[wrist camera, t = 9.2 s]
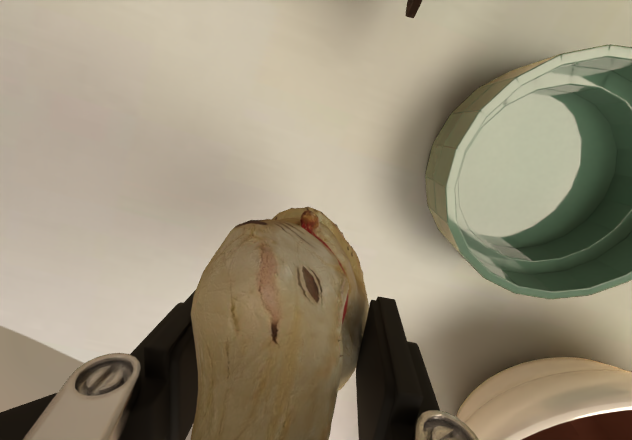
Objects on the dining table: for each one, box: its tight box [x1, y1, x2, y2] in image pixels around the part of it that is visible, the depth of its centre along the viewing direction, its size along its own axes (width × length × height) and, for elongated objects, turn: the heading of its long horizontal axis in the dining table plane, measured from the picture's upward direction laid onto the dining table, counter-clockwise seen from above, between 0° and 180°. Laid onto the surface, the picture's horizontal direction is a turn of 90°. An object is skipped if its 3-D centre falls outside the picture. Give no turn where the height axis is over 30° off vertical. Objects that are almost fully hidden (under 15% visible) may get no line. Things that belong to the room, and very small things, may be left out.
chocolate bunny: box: [191, 207, 369, 440], centre depth 9 cm, size 6×8×10 cm
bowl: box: [425, 45, 632, 299], centre depth 21 cm, size 15×15×6 cm
